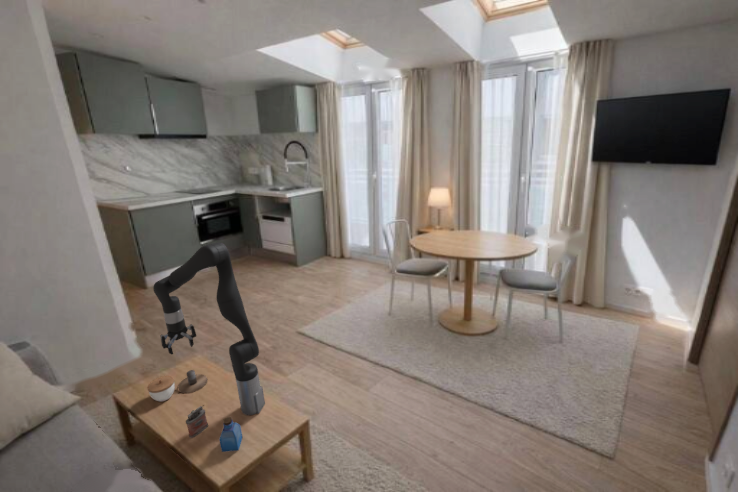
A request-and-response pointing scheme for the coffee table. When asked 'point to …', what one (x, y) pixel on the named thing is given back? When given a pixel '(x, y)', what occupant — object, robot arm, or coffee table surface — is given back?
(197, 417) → the lighter
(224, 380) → the coffee table surface
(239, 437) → the perfume bottle
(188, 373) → the walnut lid
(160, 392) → the lidded jar
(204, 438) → the coffee table surface
